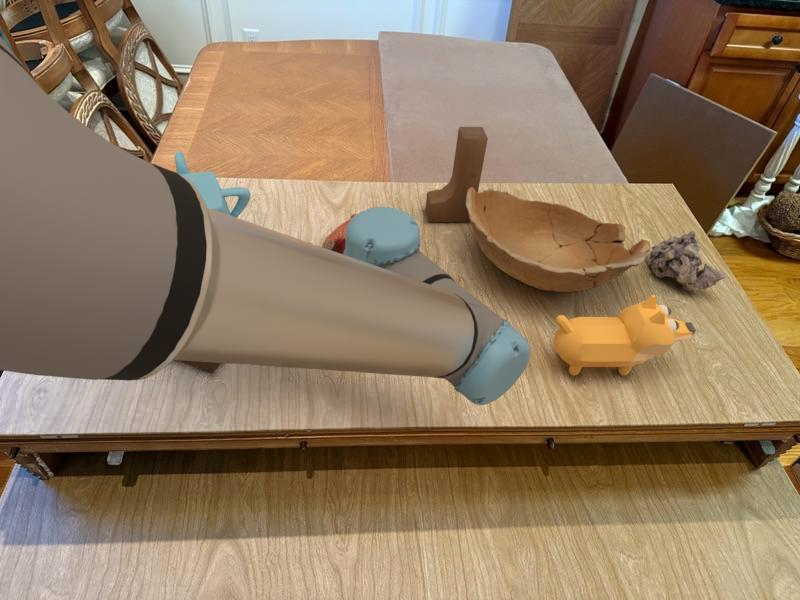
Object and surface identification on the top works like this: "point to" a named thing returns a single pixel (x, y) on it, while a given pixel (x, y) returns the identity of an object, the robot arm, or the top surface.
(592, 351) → the dog
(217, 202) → the teapot
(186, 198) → the robot arm
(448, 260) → the top surface
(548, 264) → the ceramic bowl
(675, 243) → the mineral specimen
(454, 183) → the wooden block
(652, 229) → the top surface
